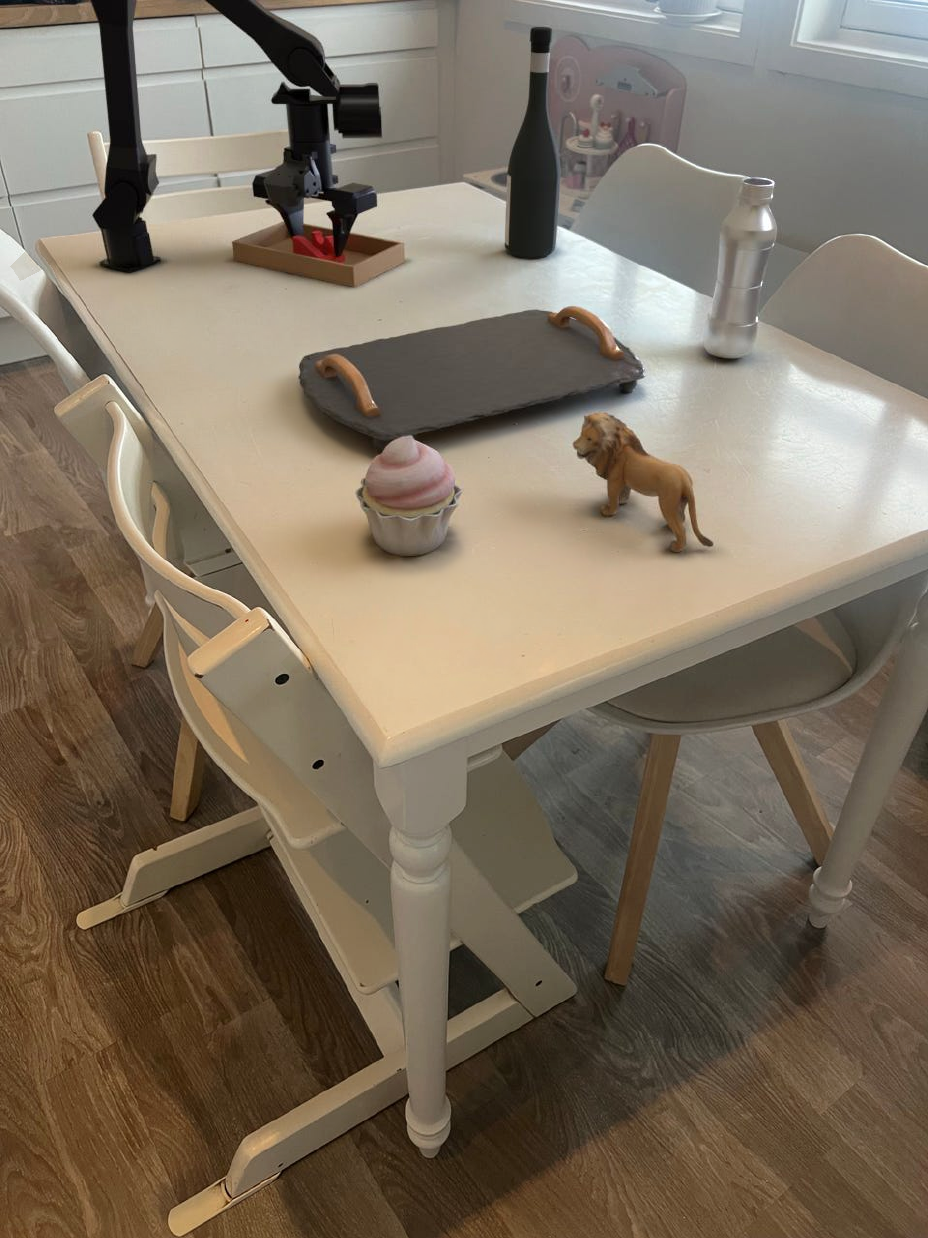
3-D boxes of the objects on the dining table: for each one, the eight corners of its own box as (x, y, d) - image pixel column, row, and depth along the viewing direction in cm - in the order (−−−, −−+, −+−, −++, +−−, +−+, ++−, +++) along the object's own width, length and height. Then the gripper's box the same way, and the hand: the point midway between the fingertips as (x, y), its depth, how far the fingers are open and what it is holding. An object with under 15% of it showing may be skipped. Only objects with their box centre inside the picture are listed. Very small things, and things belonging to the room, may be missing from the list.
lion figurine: (558, 505, 90) (566, 417, 84) (590, 483, 93) (599, 397, 87) (697, 563, 82) (715, 471, 77) (726, 538, 86) (746, 447, 80)
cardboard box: (234, 260, 145) (231, 241, 143) (288, 237, 154) (287, 219, 152) (354, 287, 136) (353, 267, 134) (404, 261, 145) (404, 242, 143)
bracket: (294, 257, 145) (292, 236, 143) (319, 250, 148) (318, 230, 146) (319, 267, 141) (317, 246, 140) (345, 260, 144) (343, 240, 142)
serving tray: (359, 471, 94) (355, 413, 91) (276, 383, 110) (269, 330, 106) (667, 391, 110) (675, 339, 106) (555, 324, 125) (559, 276, 122)
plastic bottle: (757, 348, 120) (793, 178, 107) (746, 368, 115) (782, 192, 103) (706, 340, 122) (735, 171, 110) (693, 359, 117) (722, 185, 105)
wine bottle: (494, 253, 149) (501, 27, 130) (521, 240, 154) (531, 22, 135) (538, 263, 145) (552, 33, 126) (564, 250, 150) (581, 26, 132)
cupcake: (467, 565, 82) (469, 461, 76) (357, 569, 81) (350, 465, 75) (459, 508, 89) (460, 409, 83) (358, 511, 88) (352, 412, 82)
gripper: (219, 140, 132) (235, 255, 142) (329, 158, 125) (337, 278, 135) (271, 126, 140) (282, 236, 150) (376, 142, 133) (381, 257, 142)
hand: (318, 252), depth 144 cm, fingers open, 7 cm apart
